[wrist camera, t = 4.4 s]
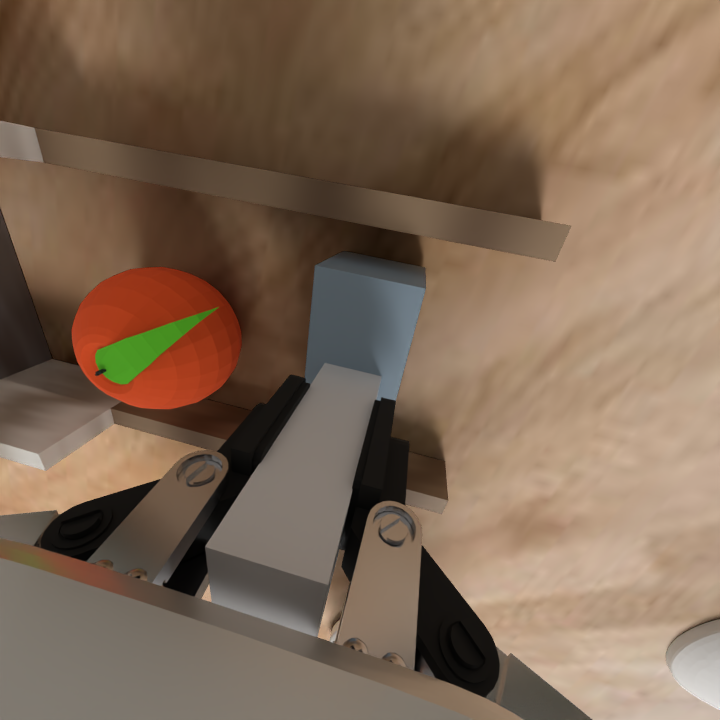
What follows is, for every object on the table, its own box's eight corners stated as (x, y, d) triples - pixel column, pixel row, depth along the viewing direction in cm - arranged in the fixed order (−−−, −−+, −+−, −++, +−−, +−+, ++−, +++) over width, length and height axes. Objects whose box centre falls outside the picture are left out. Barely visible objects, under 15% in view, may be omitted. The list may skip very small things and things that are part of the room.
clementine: (228, 221, 16) (96, 229, 9) (301, 337, 18) (233, 407, 11) (135, 291, 18) (-14, 333, 12) (207, 383, 21) (112, 459, 14)
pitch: (541, 222, 13) (647, 233, 7) (439, 474, 20) (446, 591, 14) (-52, 113, 16) (-358, 51, 10) (43, 369, 23) (-98, 427, 17)
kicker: (425, 267, 14) (428, 436, 4) (383, 429, 19) (330, 715, 8) (343, 250, 15) (127, 359, 4) (322, 413, 19) (194, 667, 9)
